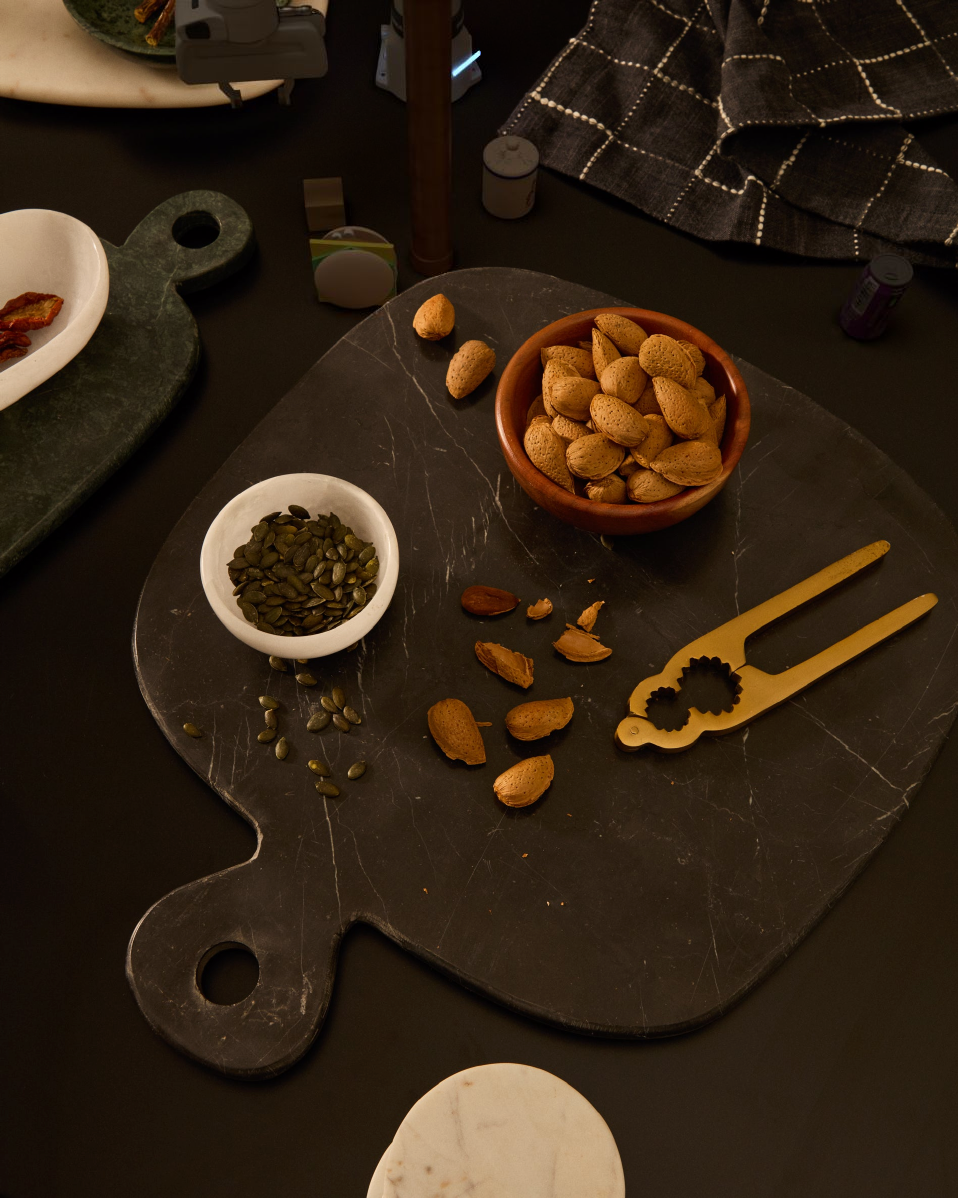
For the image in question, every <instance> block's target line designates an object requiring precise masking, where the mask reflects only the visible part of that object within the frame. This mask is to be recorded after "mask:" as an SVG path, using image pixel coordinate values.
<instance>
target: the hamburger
mask: <svg viewBox="0 0 958 1198" xmlns="http://www.w3.org/2000/svg"><path fill="white" fill-rule="evenodd" d="M394 246H395V245H394V244H392V243H390V242H389V241H388V240H387V239H386V238H385V237H383V236H382V235H381V234H379V233H378V232H376V231H374V230H372V229H370V228H366V227H362V226H356V225H355V226H354V225H351V226H350V225H349V226H348V225H346V227H341V228H338V229H335V230H330V231H329V232H328V233H327V234H324V236H323V237H322V238H321V239H318V238H317V239H314V238H310V239H309V248H310V254H311V265H312V271H313V276H314V277H313V278H314V285H315V288H316V291H317V297H318V301H319V302H320V303H331V304H333V305H335V306H338V307H341V308H345V309H353V310H356V309H357V310H359V309H366V308H369V307H373V306H381V307H383V306H382V305H383V304H384V303H386V302H387V301H388V300H390V299H391V298H393V297H395V296H396V295H397V281H398V269H397V268H398V259H397V254H396V251H395V249H394ZM397 296H398V295H397Z"/></svg>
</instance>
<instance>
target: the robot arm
mask: <svg viewBox="0 0 958 1198" xmlns="http://www.w3.org/2000/svg"><path fill="white" fill-rule="evenodd" d="M464 22H465V8H464V1H463V0H452V103H454V102H456V101H457V100H459V99H460V98H462V97H463V96H464V95H465V93H466V92H467V91H468V89H470V88H471V87H472V86H474V85H475V84H478V83H479V82H480V81H481V80H482V79H483V78H482V70H481V69H480V67H479V65H478V62H477V60H476V59H477V58H479V56H481V51H480V50H478V51H477V52H476V53H474V54H473V39H472V35H471V34H470V33H469V30H468V29H467V27H466V26H465V24H464ZM174 23H175V25H174V26H175V32H174V33H175V35H174V37H175V38H174V43H175V44H174V45H175V46H174V48H175V49H174V50H175V63H176V69H177V73H178V77H179V79H180V80H181V81H182V82H183V83H184V84H185V85H187V86H197V85H215V84H218V88H219V90H220V91H221V93H223V94H224V95H225V96H226V97H227V98H228V99H229V101H230V105H231V108H232V109H243V108H244V105H243V104H244V103H243V97H242V92H241V89H234V87H233V86H232V85H231V84H230V83H233V84H234V83H249V82H264V81H265V82H266V81H280V80H281V81H282V80H283V86H278V87H277V97H278V102H279V106H290V105H291V97H290V95H291V92H292V91H293V89H294V86H295V84H296V83H295V80H297V79H298V80H299V79H315V78H316V79H317V78H323V77H325V75H327V72H328V71H329V61H328V54H327V53H328V52H327V48H326V43H325V40H324V39H325V38H324V37H325V35H326V32H327V25H326V24H327V23H326V17H325V15H324V14H323V12H322V11H320V10H319V9H317V8H315V7H313V6H312V5H310V4H303V5H299V6H298V5H297V6H295V5H279V6H278V5H277V0H175V4H174ZM380 39H381V45H380V49H379V50H380V51H379V56H378V62H377V68H376V74H375V86H377V87H378V88H380V89H382V90H385V91H387V92H388V91H389V92H390V93H391V94H393V95H394V96H395V97H397V98H398V99H399V100H400V101H403V102H405V103H406V80H405V57H404V33H403V9H402V0H391V7H390V22H389V24H381V25H380Z"/></svg>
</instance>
